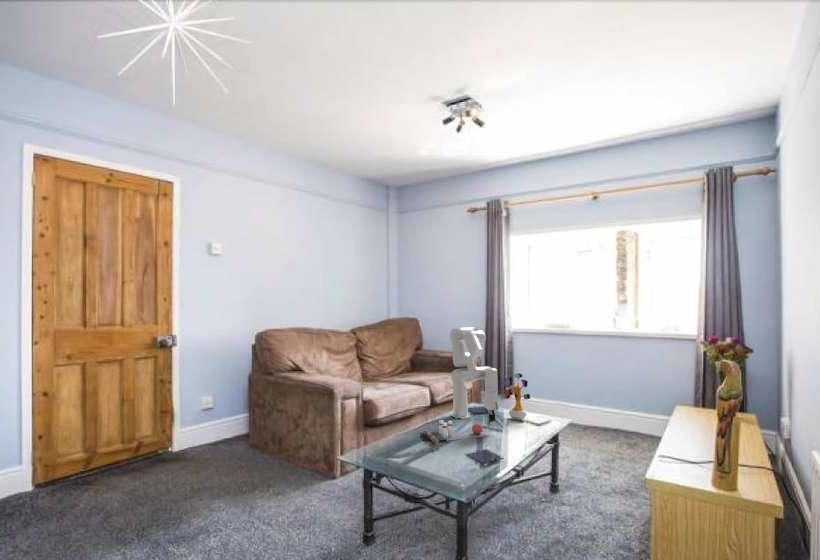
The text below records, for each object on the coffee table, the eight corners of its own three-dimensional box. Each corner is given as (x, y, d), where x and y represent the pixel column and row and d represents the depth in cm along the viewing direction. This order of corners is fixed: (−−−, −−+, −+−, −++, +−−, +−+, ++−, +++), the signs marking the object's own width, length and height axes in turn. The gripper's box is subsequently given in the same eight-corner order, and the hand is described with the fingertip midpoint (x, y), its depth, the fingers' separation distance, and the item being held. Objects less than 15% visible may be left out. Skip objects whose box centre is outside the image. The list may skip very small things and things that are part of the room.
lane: (431, 435, 253) (431, 435, 253) (479, 430, 262) (479, 430, 262) (438, 441, 243) (438, 441, 243) (487, 436, 252) (487, 436, 252)
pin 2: (441, 438, 248) (441, 422, 248) (445, 438, 249) (445, 422, 249) (443, 440, 246) (443, 423, 246) (447, 439, 246) (447, 423, 247)
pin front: (447, 436, 252) (447, 420, 252) (451, 436, 252) (451, 420, 253) (448, 438, 249) (448, 422, 250) (452, 437, 250) (452, 421, 250)
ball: (470, 433, 258) (470, 422, 258) (479, 432, 259) (479, 422, 260) (474, 436, 252) (474, 425, 252) (484, 435, 254) (483, 424, 254)
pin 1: (438, 436, 253) (438, 420, 253) (442, 435, 254) (442, 420, 254) (440, 437, 250) (440, 421, 251) (444, 437, 251) (444, 421, 251)
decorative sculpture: (500, 417, 291) (500, 371, 293) (508, 415, 296) (508, 370, 297) (525, 424, 275) (524, 376, 277) (533, 421, 280) (532, 374, 281)
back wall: (424, 434, 257) (424, 429, 257) (426, 433, 257) (426, 429, 257) (435, 445, 238) (435, 440, 238) (438, 444, 238) (438, 440, 238)
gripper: (480, 387, 265) (480, 418, 264) (491, 392, 251) (492, 424, 250) (491, 386, 268) (492, 417, 266) (503, 391, 253) (504, 423, 252)
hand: (492, 420), depth 258 cm, fingers closed
